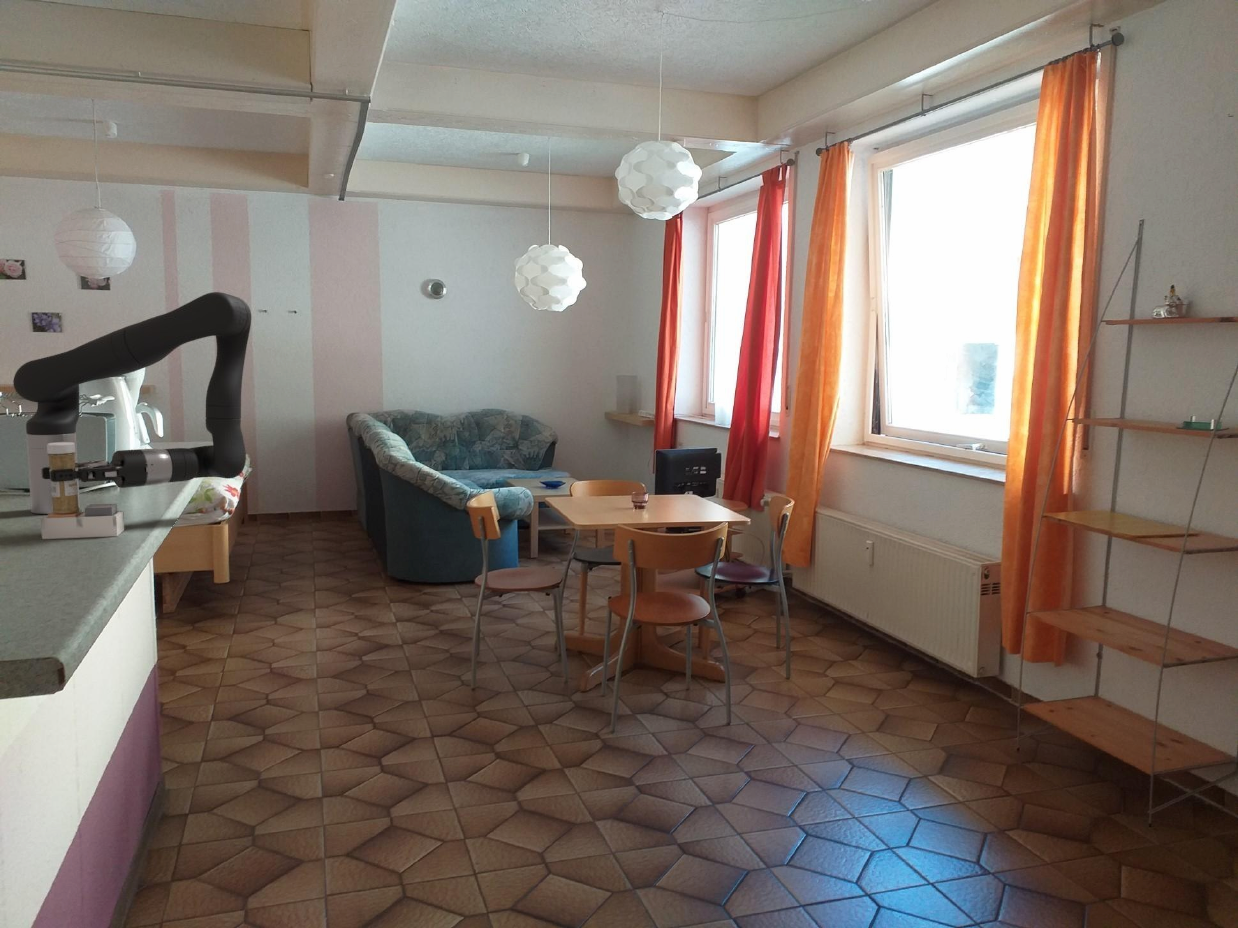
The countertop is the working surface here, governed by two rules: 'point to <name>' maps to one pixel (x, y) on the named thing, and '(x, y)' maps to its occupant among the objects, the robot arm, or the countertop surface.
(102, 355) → the robot arm
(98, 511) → the key charcoal
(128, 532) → the countertop surface
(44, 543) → the countertop surface
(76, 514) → the key terracotta
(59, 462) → the sprinkles bottle
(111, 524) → the keypad
